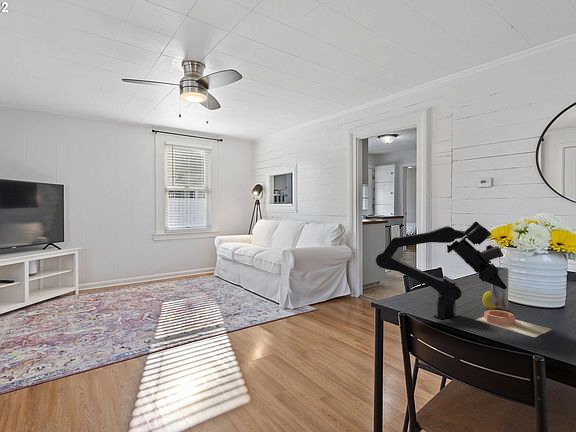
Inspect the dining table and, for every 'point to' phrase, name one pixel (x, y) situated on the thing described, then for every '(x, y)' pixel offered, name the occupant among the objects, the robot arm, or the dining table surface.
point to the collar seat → (499, 317)
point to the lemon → (488, 300)
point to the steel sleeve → (500, 289)
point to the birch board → (521, 327)
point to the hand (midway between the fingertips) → (504, 286)
